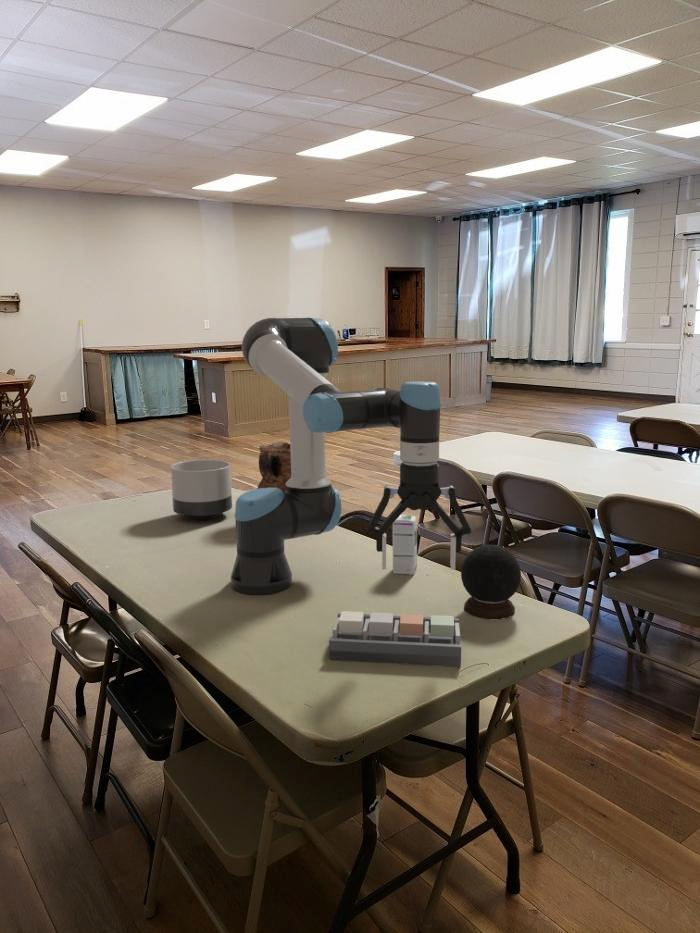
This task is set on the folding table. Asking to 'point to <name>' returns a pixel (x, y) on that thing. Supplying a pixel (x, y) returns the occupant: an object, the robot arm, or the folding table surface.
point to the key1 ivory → (351, 622)
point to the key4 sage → (442, 626)
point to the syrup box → (405, 545)
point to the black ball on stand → (490, 581)
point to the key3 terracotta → (411, 624)
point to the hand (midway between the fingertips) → (418, 567)
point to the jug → (275, 465)
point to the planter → (201, 488)
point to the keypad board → (396, 645)
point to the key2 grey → (381, 623)
